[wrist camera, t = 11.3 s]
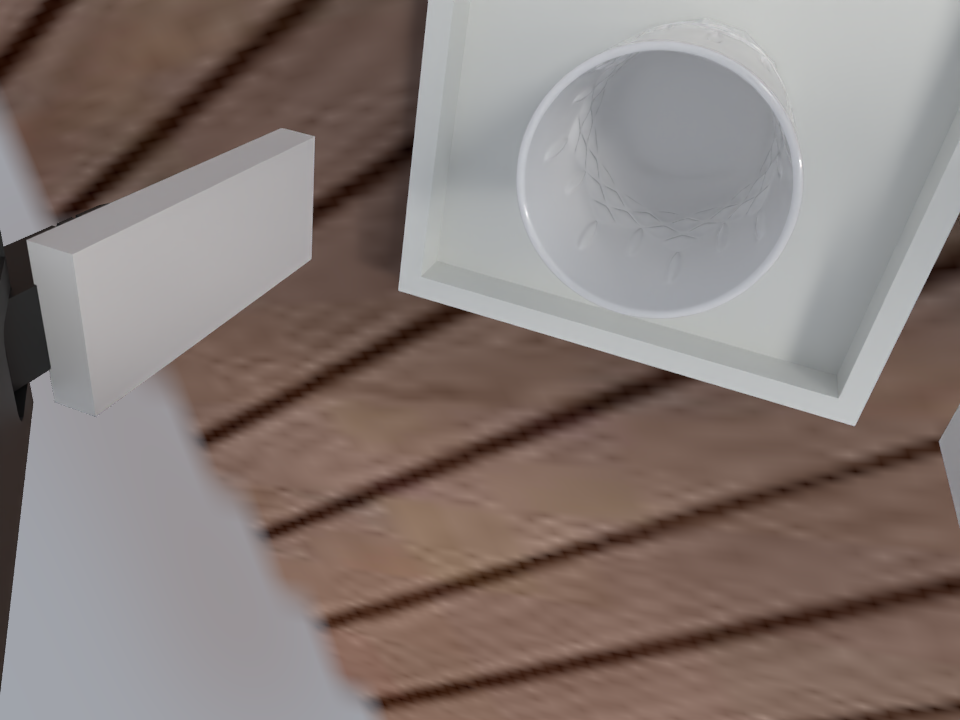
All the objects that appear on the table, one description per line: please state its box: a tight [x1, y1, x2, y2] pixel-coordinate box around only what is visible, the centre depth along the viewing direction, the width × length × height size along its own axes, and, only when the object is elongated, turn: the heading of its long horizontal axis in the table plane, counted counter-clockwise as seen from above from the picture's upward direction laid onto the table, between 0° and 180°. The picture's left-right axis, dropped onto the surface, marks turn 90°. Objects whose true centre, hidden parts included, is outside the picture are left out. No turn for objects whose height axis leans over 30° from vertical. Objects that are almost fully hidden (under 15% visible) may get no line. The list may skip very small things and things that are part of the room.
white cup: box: [516, 18, 804, 319], centre depth 27 cm, size 8×8×10 cm
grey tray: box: [398, 0, 960, 426], centre depth 30 cm, size 20×20×2 cm
